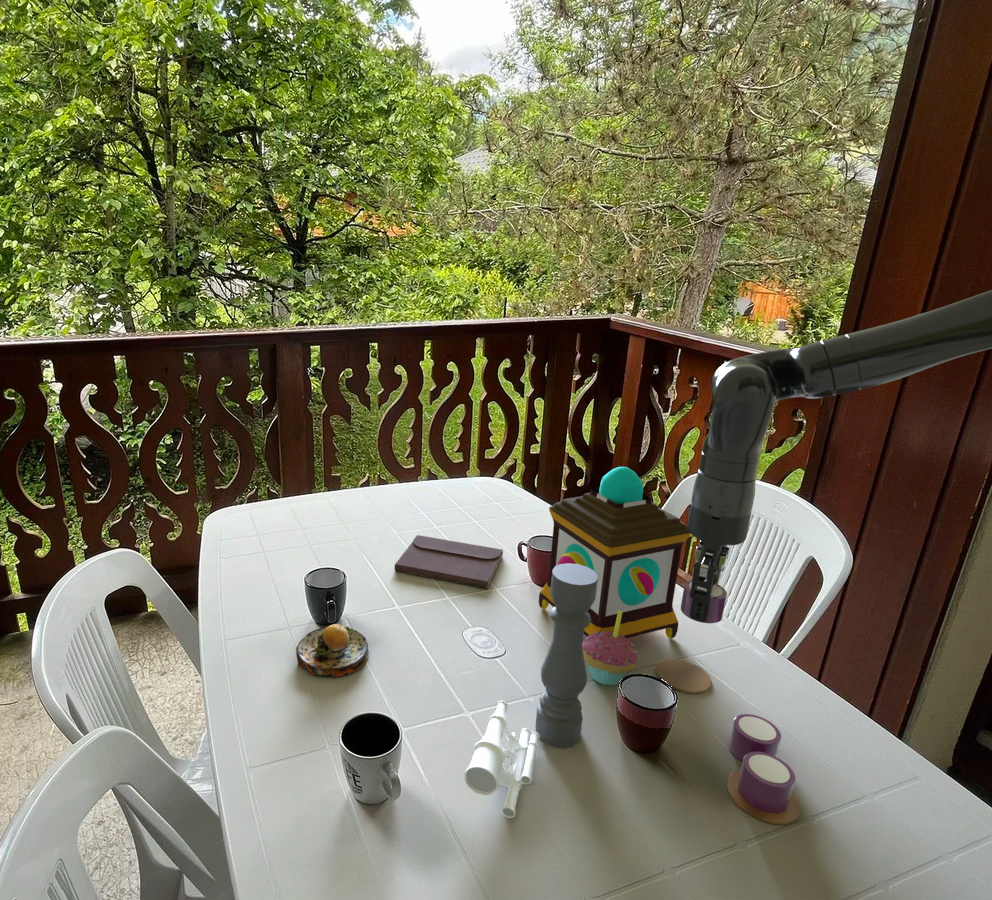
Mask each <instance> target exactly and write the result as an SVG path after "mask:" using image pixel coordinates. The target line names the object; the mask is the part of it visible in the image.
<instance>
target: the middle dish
mask: <svg viewBox="0 0 992 900" xmlns="http://www.w3.org/2000/svg"><path fill="white" fill-rule="evenodd" d="M781 741H782V734H781V731H780V729H779V728H778V727H777V726H776V725H775V724H774V723H772V722H771V721H770V720H768V719H766V718H763V717H761V716H759V715H756V714H751V713H741V714H738V715H736V717H734V719H733V722H732V727H731V732H730V736H729V741H728V748H729V751H730V753H731V754H732V755H733V756H734V757H735V758H736V759H737V760H739V761H740V762H741V763H743V758H744V756H745V755H746V754H748V753H750V752H764V753H768V754H771V755H773V756H775V757H777V758H778V753H779V749H780V745H781Z"/></svg>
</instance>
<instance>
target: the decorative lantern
mask: <svg viewBox="0 0 992 900" xmlns="http://www.w3.org/2000/svg"><path fill="white" fill-rule="evenodd" d="M548 511H549V514H550V516H551V518H552V521H553V529H552V538H551V539H552V540H551V549H550V560H549V561H550V562H549V570H548V571H549V572H548V580H547V582H546V583H545V584H544V586H543V587H542V588H541V590H540V592H539V595H538V605H539V608H540V609H542V610H546V609H547V608H548V606H549V605H550V606H551V607H552V608H553V607H555V604H554V602H553V600H552V596H551V592H550V590H551V579H552V570H553V569H554V567H555V566H557V565H560V564H566V563H571V564H579V565H583V566H586V567H588V568H590V569H592V570H593V571H594V572H595V573H597V576H598V581H597V589H596V598H595V601H594V602H593V604H592V606H591V608H590V609H588V611H587V612H588V613H589V614H590V617H591V622H590V623H589V625H588V626H587V627H585V629H584V635H583V636H585V637H586V638H587V637H588V636H590V634H593V633H595V632H600V631H601V632H602V631H605V632H614V629H615V624H616V619H617V614H618V610H620V608H621V606H622V610H621V611H622V617H621V622H620V627H619V632H618V634H621V635H622V636H625V638H627V639H630V638H634V637H638V636H641V635H645V634H650V633H653V632H654V633H655V632H658V631H661V630H665V636H666V637H667V638H668V639H674V638H675V637H676V636H677V634H678V629H679V620H678V618H677V615H676V613H675V611H674V607H673V603H674V597H675V591H676V585H677V579H678V573H679V566H680V560H681V555H682V548H683V546H684V543H685V542H687V540H688V539H689V538H690V536H691V534H690V533H689V531H688V529H687V524H686V523H685V522H683V521H681V520H680V518H679V517H678V516H676V515H674V514H672V513H670V512H668V511H666V510H664V509H662V508H660V507H658V505H657V504H656V503H654V502H652V498H651V497H649V496H647V495H645V494H644V484H643V480H642V479H641V478H640V477H639V476H638V474H637V473H636V472H635V471H634V470H632V469H631V468H630V467H627V466H618V467H615V468H613V469H611V470H610V471H608V472H607V473H606V474H605V475H603V476H602V478H601V481H600V485H599V487H597V488H592V489H590V492H587V493H586V492H585V493H584V494H583V495H581V496H575V497H570V498H569V497H568V498H564V499H562V500H561V501H557V502H555V503H554V504H553V505H550V506H549V507H548Z"/></svg>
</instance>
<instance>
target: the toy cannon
mask: <svg viewBox="0 0 992 900" xmlns="http://www.w3.org/2000/svg"><path fill="white" fill-rule="evenodd" d="M508 707H509V705H508V703H507V702H506V700H499V701H498V702H497V706H496V709H495V711H494V712H493V714H491V715H490V717H489V718H488V724H487V728H486V730H485V734H484V735H483V736H482V739H481V740H478V741H477V742H476V743H475V744H474V746H473V748H472V754H473V756H472V758H471V761H470V763H469V765H468V767H467V768H466V770H465V772H464V774H463V775H464V776H463V779H464V783H465V785H466V786H467V788H468V789H470V790H471V791H472V792H473V793H475V794H477V795H481V796H491V795H493V794H495V793H496V792H497V790H498V788H499V786H501V787H508V788H507V791H506V792H507V793H506V797H505V801H504V805H503V806H502V808H501V814H502V815H503V816H504V817H505V818H507V819H513V818H515V816H516V813H517V812H516V806H517V802H518V798H519V793H520V790H522V788H523V787H522V785H531V783H532V780H533V779H532V775H533V769H534V765H535V759H536V755H537V751H538V749H539V740H540V735H539V733H537V732H536V731H532V730H531V729H529V727H524V728H521V730H520V737H519V741H518V739H517V732H515V731H513V732H511V731H510V730H509V728H508V727H507V724H508V723H507V720H506V713H507V709H508ZM503 737H505V739H506V740H507V741H508V742H509V743H508V747H507V749H505V748H504V746H503ZM514 749H515V753H516V754H515V753H513V750H514ZM510 766H512V770H511V772H510V771H509V767H510Z"/></svg>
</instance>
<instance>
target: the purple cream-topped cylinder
mask: <svg viewBox="0 0 992 900" xmlns="http://www.w3.org/2000/svg"><path fill="white" fill-rule="evenodd" d="M683 586H684V587H683V591H682V597H681V603H680V611H681V613H682V614H683V615H684V616H685V617H687V618H688V619H690V620H692V619H691V618H690V610H691V604H692V599H693V598H690V595H689V594H690V591H691V586H692V579H689V580H687V581H686V582H685V583H684V585H683ZM698 589H701V590H705V591H707V590H706V589H705V588H702V587H698ZM712 595H713V598H712V599H711V601H710V606H709V611H708V616H707V620H706V622H704V623H703V624H717V623H719V622H722V620H723V618H724V611H725V607H726V601H727V597H728V592H727V590H726V589H725V587H723V586H721V585H720V584H717V585H715V586H714V589H713V594H712ZM694 621H695V622H699V621H696V620H694ZM699 623H700V622H699Z"/></svg>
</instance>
